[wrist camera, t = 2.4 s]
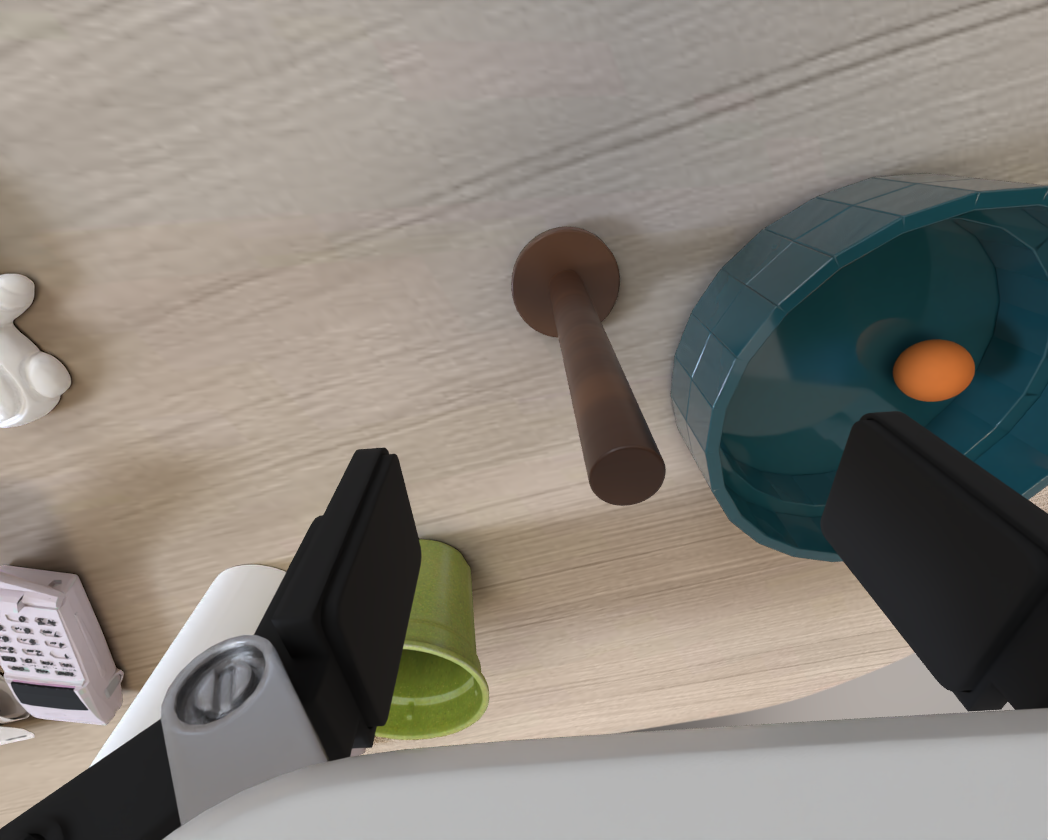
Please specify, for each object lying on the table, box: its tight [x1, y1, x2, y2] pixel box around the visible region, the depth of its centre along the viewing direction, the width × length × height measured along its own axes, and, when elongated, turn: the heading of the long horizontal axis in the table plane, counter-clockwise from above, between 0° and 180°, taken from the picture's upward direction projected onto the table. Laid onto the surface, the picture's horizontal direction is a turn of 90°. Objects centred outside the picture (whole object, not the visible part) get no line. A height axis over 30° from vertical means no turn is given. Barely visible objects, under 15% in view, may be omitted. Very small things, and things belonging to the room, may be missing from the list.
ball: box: [893, 339, 975, 402], centre depth 23 cm, size 3×3×3 cm
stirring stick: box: [512, 227, 666, 506], centre depth 16 cm, size 5×5×15 cm
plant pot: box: [375, 539, 489, 740], centre depth 29 cm, size 9×9×9 cm
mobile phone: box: [0, 565, 124, 725], centre depth 32 cm, size 6×6×25 cm
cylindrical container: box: [89, 565, 286, 768], centre depth 23 cm, size 7×7×25 cm
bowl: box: [671, 173, 1048, 562], centre depth 22 cm, size 17×17×6 cm
